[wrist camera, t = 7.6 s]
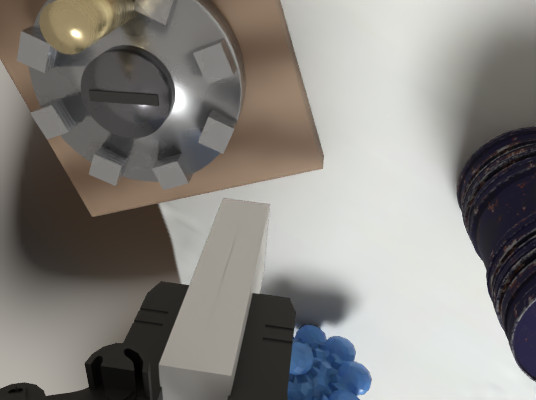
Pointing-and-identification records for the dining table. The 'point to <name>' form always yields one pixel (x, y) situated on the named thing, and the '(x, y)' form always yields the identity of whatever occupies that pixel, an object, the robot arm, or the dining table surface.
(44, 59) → the crank wheel
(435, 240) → the dining table surface
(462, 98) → the dining table surface
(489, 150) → the storage jar
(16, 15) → the base plate
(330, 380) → the grapes
